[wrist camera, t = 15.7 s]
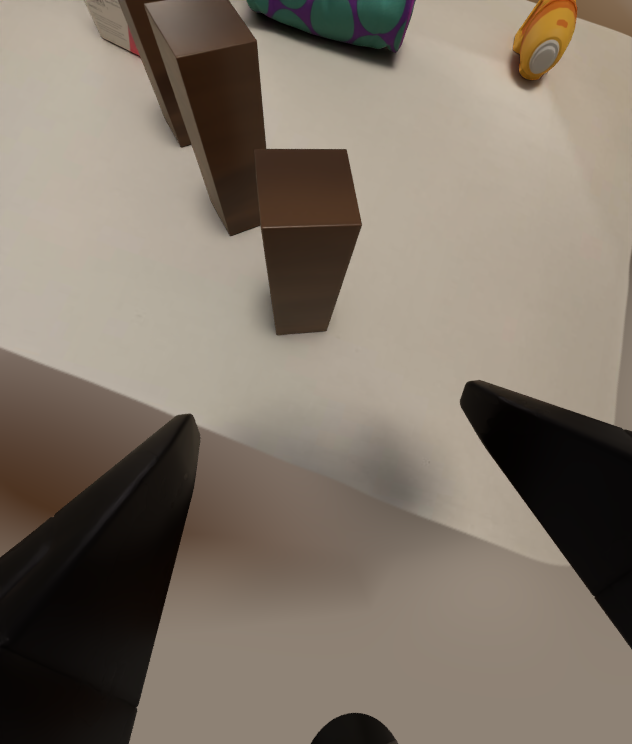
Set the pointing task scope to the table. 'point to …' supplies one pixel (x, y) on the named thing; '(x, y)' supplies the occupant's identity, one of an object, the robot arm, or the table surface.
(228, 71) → the walnut block
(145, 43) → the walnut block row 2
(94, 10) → the ink box
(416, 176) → the table surface
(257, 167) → the walnut block loose
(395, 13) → the pencil case
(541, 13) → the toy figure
